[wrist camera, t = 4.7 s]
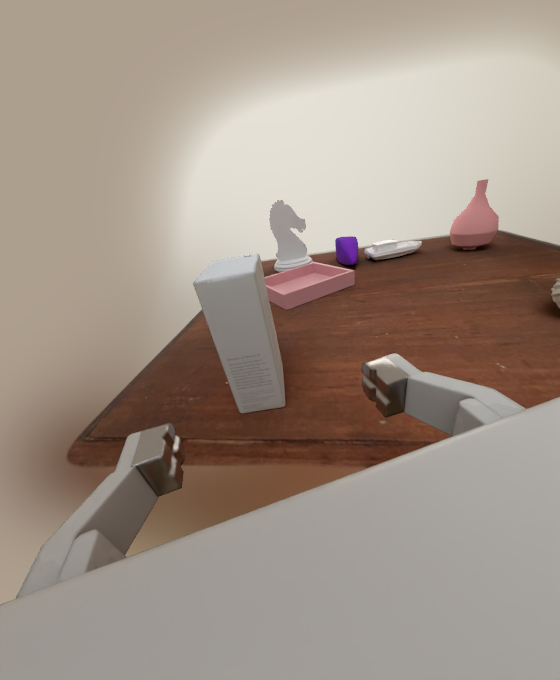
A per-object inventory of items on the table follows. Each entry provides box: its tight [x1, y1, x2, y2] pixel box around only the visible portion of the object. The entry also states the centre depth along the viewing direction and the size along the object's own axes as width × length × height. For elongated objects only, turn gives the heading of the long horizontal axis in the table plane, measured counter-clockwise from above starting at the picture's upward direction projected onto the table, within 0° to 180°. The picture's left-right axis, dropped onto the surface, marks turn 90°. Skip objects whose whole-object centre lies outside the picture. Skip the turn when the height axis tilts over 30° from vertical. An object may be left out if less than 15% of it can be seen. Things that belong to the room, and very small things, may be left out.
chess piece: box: [270, 200, 313, 272], centre depth 60 cm, size 10×10×15 cm
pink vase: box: [450, 180, 498, 250], centre depth 48 cm, size 8×8×12 cm
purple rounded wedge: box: [336, 237, 358, 265], centre depth 57 cm, size 5×5×15 cm
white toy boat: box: [364, 240, 422, 260], centre depth 55 cm, size 6×12×3 cm, turn 93°
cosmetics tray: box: [264, 262, 355, 310], centre depth 46 cm, size 14×12×3 cm
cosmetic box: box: [193, 253, 285, 413], centre depth 21 cm, size 6×4×12 cm
